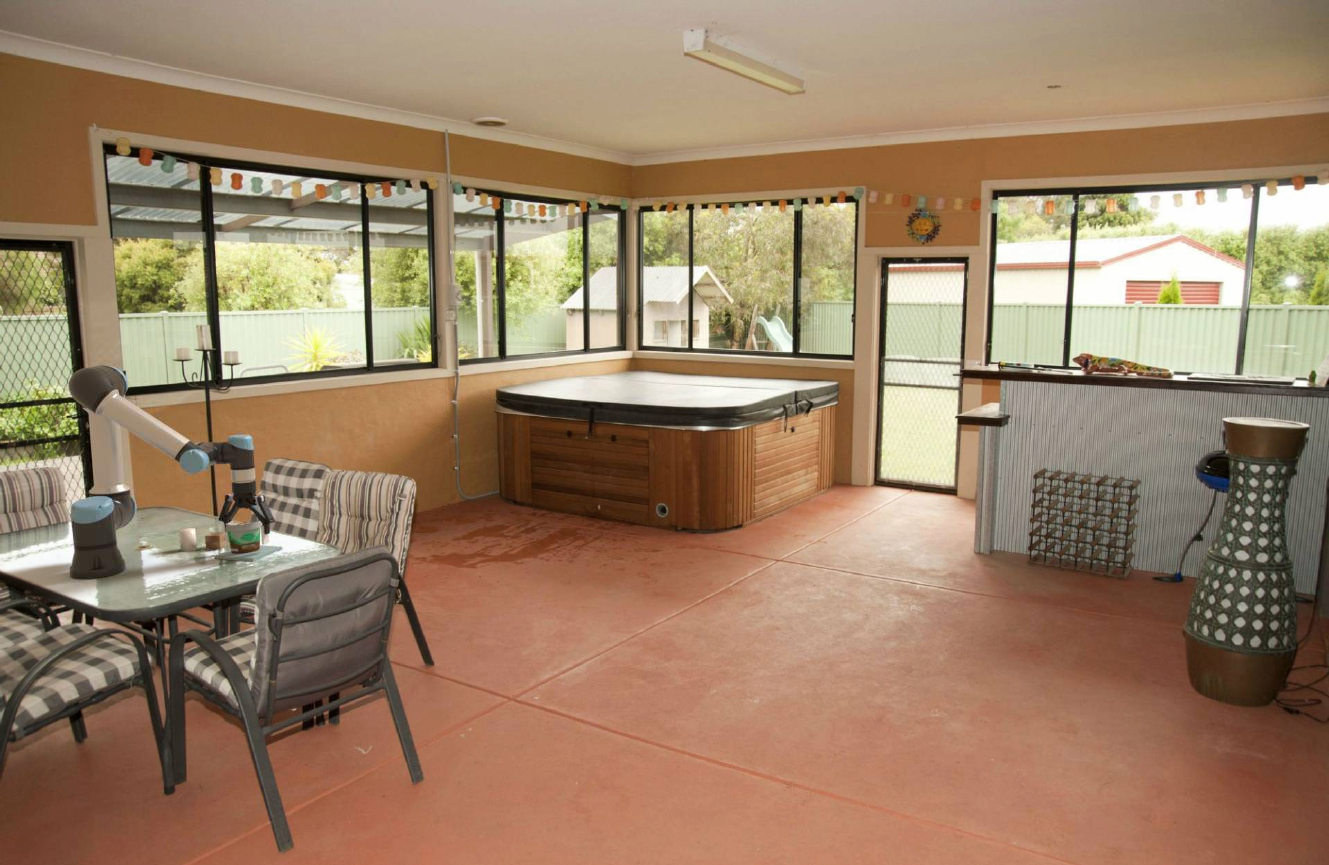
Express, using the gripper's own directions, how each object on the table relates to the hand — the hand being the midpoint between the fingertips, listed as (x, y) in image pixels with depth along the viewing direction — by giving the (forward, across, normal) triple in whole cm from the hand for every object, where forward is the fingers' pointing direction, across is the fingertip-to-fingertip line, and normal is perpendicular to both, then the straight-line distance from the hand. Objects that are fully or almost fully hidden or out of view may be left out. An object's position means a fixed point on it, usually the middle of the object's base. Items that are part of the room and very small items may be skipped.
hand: (248, 542), depth 314 cm
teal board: (+4, 0, 0) cm, 4 cm away
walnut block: (+4, +17, -5) cm, 18 cm away
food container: (+3, 0, 0) cm, 3 cm away
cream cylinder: (+4, +25, -1) cm, 25 cm away
